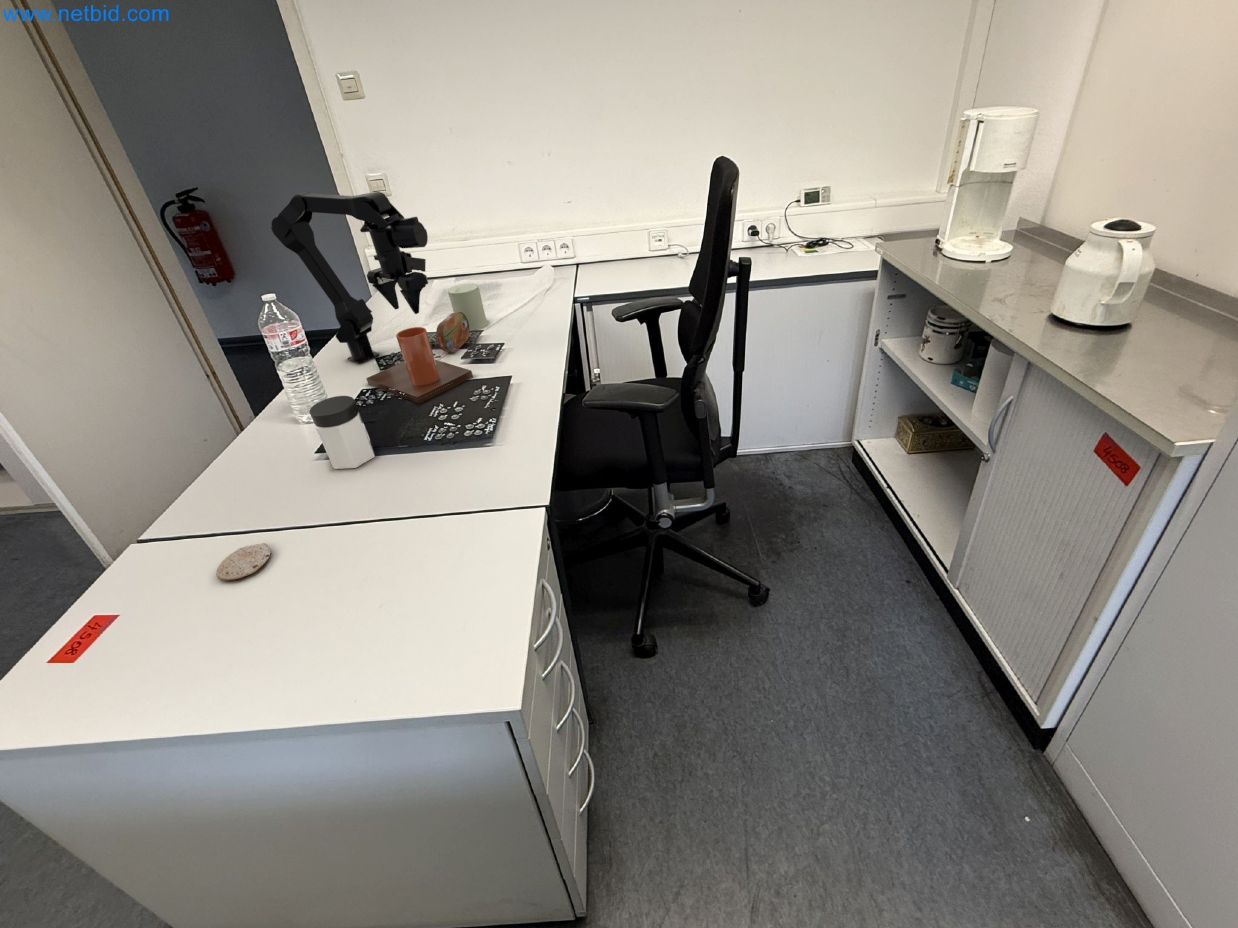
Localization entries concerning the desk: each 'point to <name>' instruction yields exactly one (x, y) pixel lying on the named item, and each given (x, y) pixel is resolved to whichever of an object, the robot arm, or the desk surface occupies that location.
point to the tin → (453, 332)
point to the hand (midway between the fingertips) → (406, 311)
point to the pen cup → (418, 356)
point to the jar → (342, 432)
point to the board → (401, 382)
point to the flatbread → (243, 561)
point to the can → (468, 304)
